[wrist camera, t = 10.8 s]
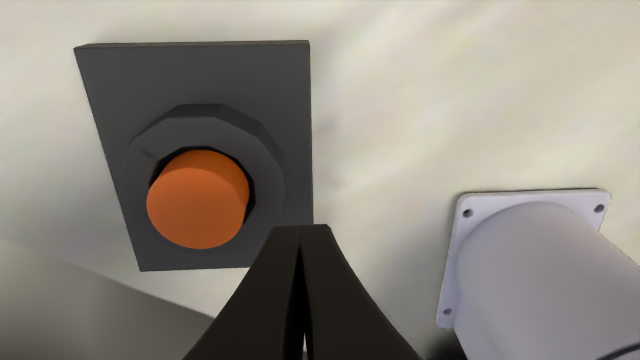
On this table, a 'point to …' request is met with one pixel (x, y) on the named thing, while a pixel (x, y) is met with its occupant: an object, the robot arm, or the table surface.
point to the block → (205, 133)
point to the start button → (199, 199)
